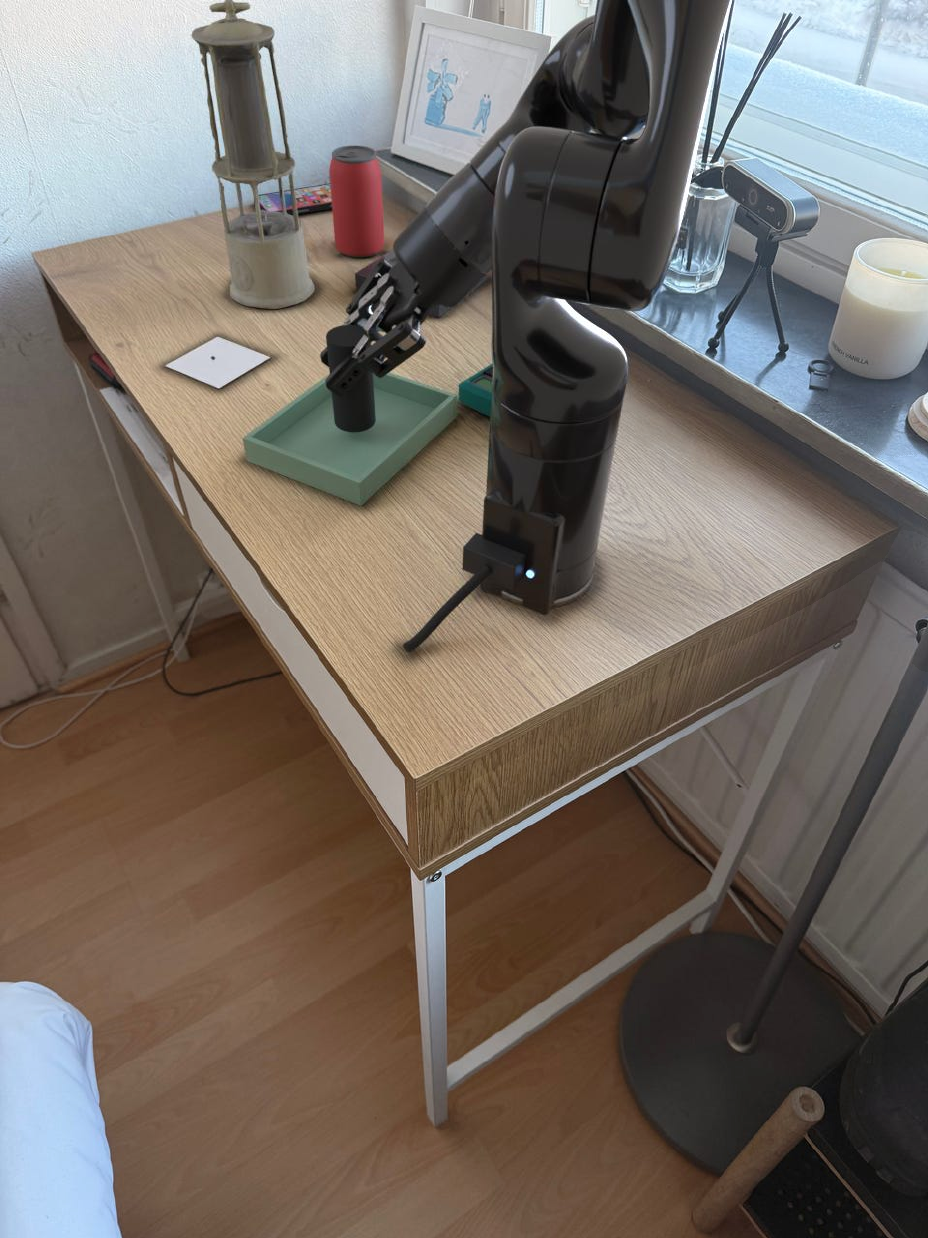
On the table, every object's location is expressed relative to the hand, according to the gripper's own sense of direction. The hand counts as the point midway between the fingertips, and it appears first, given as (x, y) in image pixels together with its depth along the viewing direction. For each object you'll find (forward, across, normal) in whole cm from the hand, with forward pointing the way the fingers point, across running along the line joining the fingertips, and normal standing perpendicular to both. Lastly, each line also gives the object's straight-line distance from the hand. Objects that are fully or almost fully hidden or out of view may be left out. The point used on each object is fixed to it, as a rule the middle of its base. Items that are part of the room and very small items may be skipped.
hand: (330, 376), depth 81 cm
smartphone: (+3, -61, +7) cm, 62 cm away
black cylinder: (+2, 0, +5) cm, 5 cm away
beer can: (-1, -44, +11) cm, 45 cm away
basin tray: (+4, 0, +6) cm, 7 cm away
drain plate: (-5, -32, +15) cm, 35 cm away
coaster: (+13, -17, -3) cm, 21 cm away
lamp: (+8, -35, +2) cm, 36 cm away
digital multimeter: (-10, -6, +20) cm, 23 cm away
